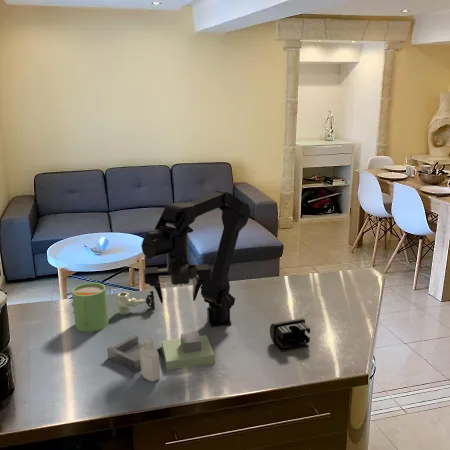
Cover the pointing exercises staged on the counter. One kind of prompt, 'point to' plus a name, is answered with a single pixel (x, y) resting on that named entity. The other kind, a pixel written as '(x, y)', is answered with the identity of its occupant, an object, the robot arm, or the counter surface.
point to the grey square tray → (129, 353)
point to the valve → (132, 302)
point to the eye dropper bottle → (149, 360)
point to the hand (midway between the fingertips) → (177, 301)
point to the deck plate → (186, 358)
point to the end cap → (290, 334)
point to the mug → (90, 307)
